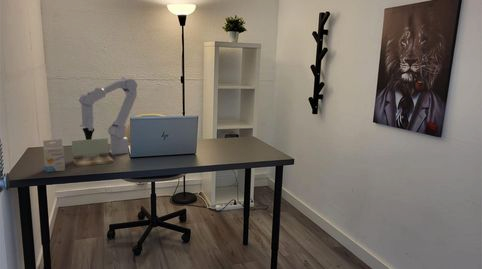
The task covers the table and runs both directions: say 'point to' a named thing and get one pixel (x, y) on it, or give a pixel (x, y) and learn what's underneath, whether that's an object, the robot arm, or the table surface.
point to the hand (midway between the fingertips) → (88, 141)
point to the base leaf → (92, 160)
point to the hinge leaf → (90, 147)
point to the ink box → (53, 155)
